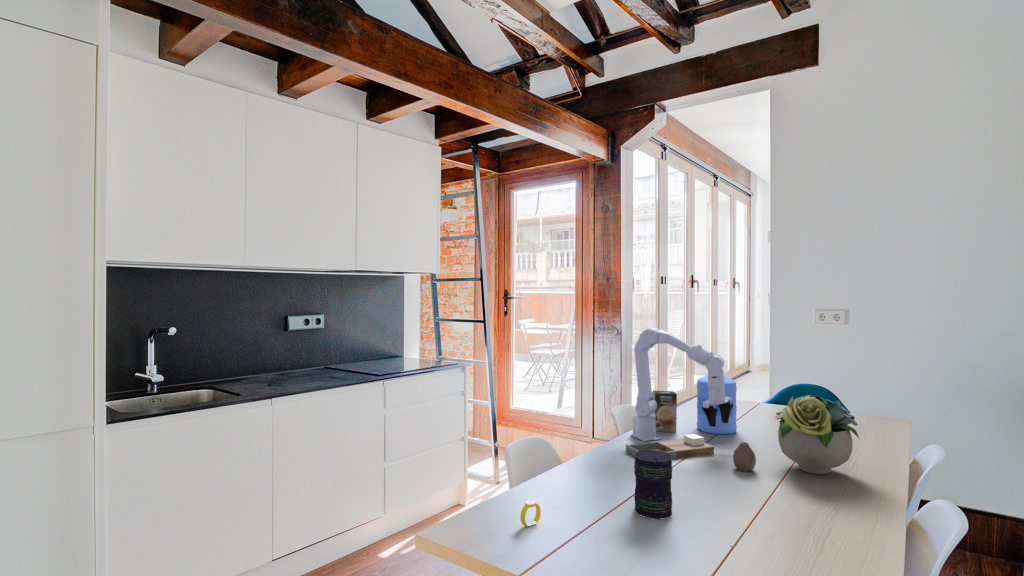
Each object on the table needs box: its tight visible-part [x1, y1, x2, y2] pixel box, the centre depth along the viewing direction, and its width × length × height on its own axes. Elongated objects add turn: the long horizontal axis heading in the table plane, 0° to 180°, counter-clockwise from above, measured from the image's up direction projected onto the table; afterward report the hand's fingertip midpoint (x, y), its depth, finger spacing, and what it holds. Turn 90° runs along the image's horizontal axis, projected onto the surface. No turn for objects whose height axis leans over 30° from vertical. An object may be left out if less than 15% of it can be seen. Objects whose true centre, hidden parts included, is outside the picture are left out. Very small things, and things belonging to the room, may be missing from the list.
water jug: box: [696, 374, 738, 435], centre depth 221 cm, size 16×16×28 cm
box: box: [625, 441, 678, 460], centre depth 188 cm, size 12×13×2 cm
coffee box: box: [652, 390, 678, 433], centre depth 221 cm, size 9×6×16 cm
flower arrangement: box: [772, 394, 860, 475], centre depth 172 cm, size 25×25×24 cm
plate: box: [657, 438, 715, 459], centre depth 193 cm, size 12×16×2 cm
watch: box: [520, 499, 542, 527], centre depth 132 cm, size 6×3×6 cm, turn 133°
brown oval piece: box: [732, 441, 757, 473], centre depth 173 cm, size 7×7×9 cm
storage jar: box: [633, 450, 673, 520], centre depth 141 cm, size 10×10×15 cm
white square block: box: [683, 433, 705, 446], centre depth 194 cm, size 5×5×2 cm
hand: (718, 424), depth 195 cm, fingers open, 7 cm apart
